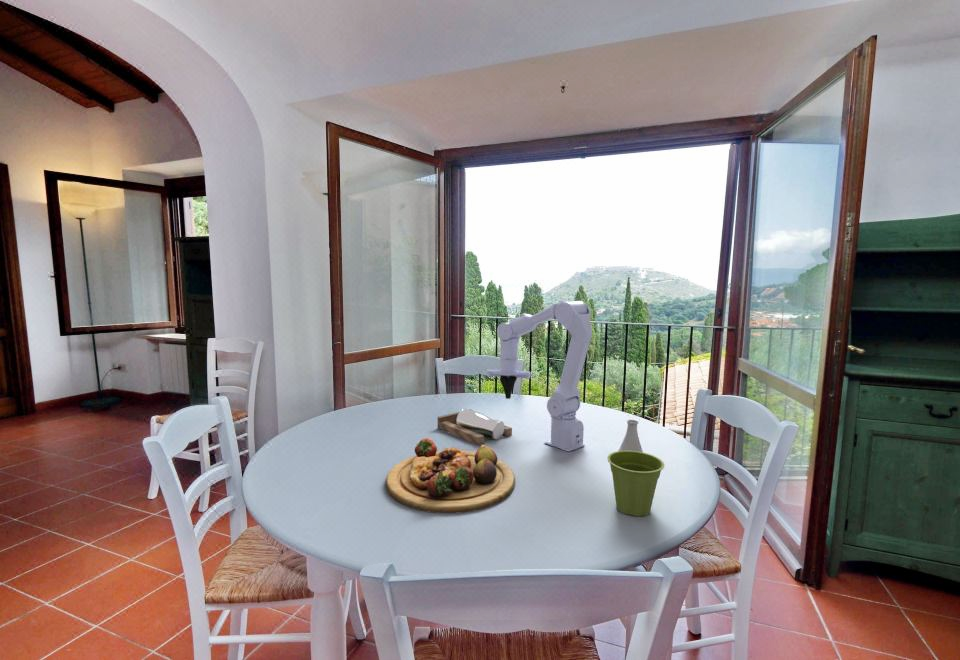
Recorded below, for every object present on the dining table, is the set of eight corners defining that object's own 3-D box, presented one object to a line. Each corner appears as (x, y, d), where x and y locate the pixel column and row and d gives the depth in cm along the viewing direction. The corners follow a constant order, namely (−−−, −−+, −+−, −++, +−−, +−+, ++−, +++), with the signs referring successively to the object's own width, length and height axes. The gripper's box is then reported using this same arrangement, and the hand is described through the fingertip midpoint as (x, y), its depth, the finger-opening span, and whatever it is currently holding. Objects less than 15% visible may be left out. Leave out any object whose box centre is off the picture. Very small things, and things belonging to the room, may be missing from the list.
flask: (615, 456, 134) (617, 422, 133) (620, 448, 141) (622, 415, 140) (641, 461, 131) (643, 426, 130) (645, 452, 137) (647, 419, 136)
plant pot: (595, 508, 103) (597, 460, 102) (622, 491, 112) (624, 446, 110) (646, 529, 95) (648, 476, 94) (671, 509, 103) (673, 460, 102)
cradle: (511, 435, 151) (512, 423, 151) (478, 445, 142) (478, 432, 141) (470, 420, 167) (470, 409, 166) (437, 428, 157) (437, 416, 157)
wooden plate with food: (376, 466, 126) (376, 437, 125) (486, 450, 137) (486, 423, 136) (400, 528, 96) (399, 491, 95) (537, 502, 108) (538, 468, 106)
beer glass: (505, 435, 150) (469, 423, 159) (505, 415, 148) (468, 404, 157) (493, 444, 145) (456, 431, 154) (492, 424, 143) (455, 412, 152)
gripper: (485, 359, 154) (484, 399, 155) (528, 361, 150) (527, 402, 152) (489, 355, 161) (489, 394, 162) (531, 357, 157) (530, 397, 159)
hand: (508, 398), depth 157 cm, fingers closed
